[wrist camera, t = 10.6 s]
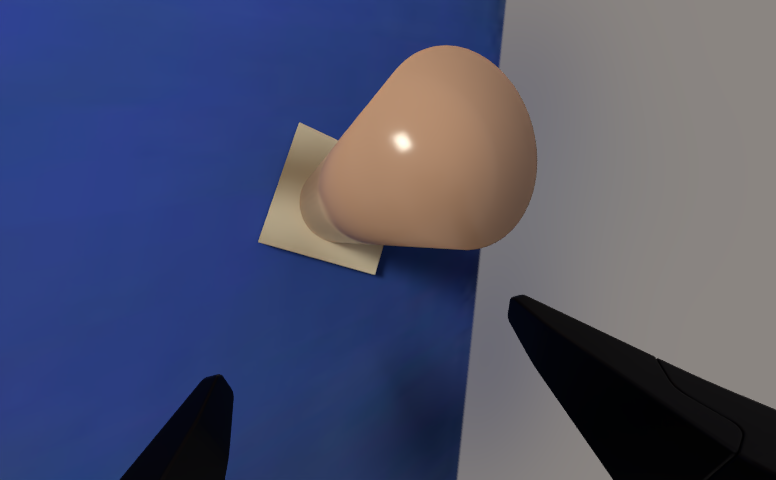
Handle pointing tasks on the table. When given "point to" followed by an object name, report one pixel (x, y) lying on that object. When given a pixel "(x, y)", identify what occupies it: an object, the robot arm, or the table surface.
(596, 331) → the robot arm
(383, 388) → the table surface
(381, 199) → the tan rounded cylinder
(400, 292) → the table surface
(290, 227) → the coaster
